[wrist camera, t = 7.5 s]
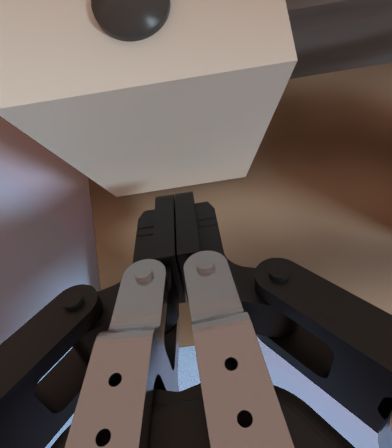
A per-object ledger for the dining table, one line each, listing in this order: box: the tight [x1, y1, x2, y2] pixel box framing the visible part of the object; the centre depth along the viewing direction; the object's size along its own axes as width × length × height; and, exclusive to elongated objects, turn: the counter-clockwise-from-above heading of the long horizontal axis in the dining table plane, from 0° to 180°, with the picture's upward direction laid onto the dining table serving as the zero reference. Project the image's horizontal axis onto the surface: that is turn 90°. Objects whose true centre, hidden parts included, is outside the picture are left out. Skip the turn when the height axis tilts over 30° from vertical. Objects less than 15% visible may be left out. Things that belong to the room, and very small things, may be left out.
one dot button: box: [0, 0, 298, 197], centre depth 12 cm, size 4×7×10 cm, turn 98°
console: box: [89, 0, 392, 347], centre depth 14 cm, size 18×26×6 cm
